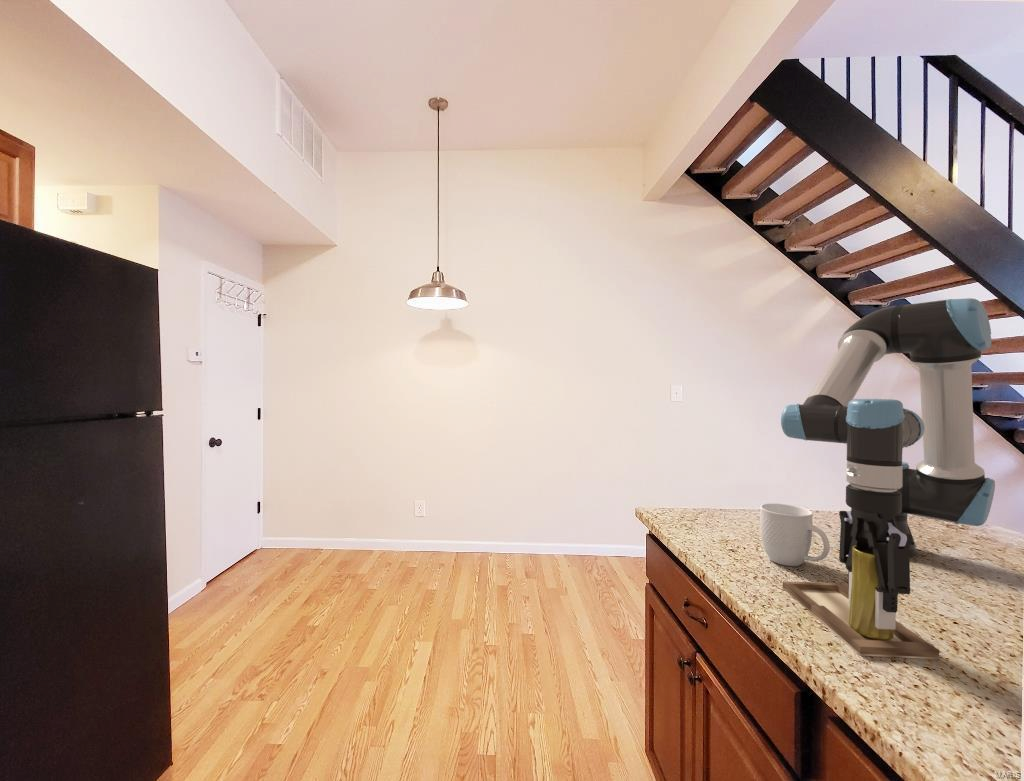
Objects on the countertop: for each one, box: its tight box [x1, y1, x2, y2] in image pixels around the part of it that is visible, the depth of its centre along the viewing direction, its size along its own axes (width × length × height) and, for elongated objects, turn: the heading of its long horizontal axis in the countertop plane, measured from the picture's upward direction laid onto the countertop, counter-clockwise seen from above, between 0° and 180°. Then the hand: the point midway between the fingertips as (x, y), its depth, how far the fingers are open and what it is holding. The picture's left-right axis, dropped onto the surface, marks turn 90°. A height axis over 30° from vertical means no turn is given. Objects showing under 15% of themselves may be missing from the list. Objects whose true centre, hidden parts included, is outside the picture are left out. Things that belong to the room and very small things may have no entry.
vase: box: [848, 545, 893, 640], centre depth 76 cm, size 6×6×14 cm
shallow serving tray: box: [782, 581, 940, 660], centre depth 81 cm, size 12×23×2 cm, turn 176°
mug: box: [759, 502, 831, 567], centre depth 105 cm, size 15×11×13 cm
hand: (870, 617), depth 76 cm, fingers closed on vase, 6 cm apart
